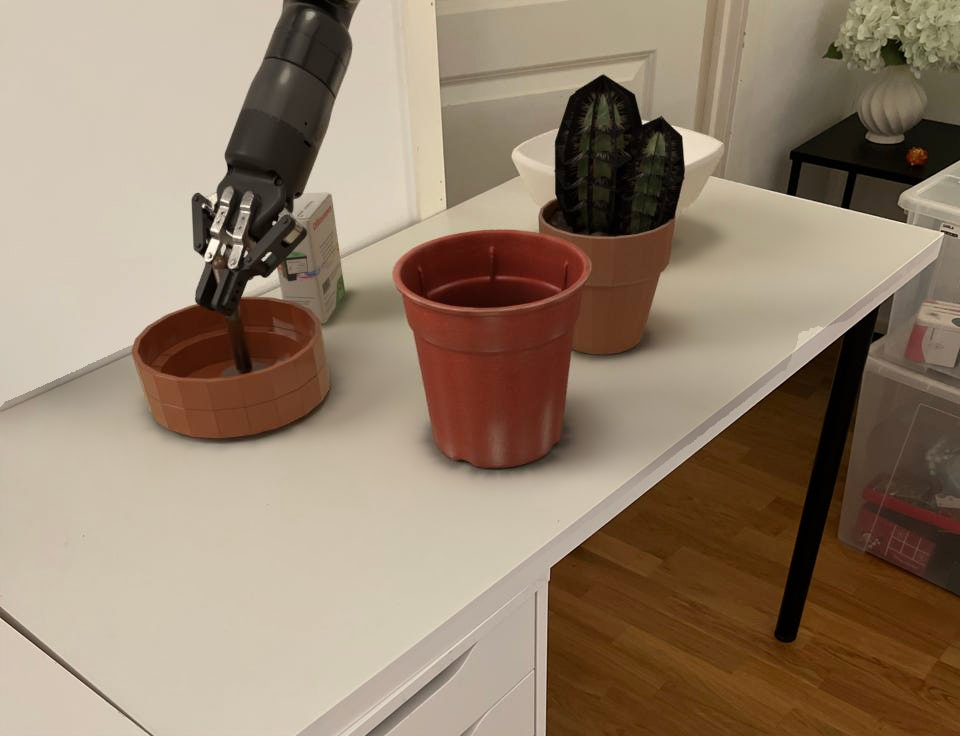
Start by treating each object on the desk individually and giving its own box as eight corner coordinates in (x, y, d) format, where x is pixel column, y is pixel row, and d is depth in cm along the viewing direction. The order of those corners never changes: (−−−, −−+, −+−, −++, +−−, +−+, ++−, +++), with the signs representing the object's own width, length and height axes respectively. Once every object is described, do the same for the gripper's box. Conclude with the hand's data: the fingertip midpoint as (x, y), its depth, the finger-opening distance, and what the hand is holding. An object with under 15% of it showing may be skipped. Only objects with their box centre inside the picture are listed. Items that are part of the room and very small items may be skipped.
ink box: (307, 292, 117) (290, 190, 109) (347, 293, 116) (332, 191, 108) (285, 323, 111) (265, 217, 103) (326, 325, 110) (309, 218, 102)
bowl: (606, 201, 136) (610, 109, 128) (736, 240, 123) (749, 141, 115) (490, 246, 125) (487, 150, 117) (620, 294, 113) (626, 190, 105)
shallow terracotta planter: (117, 400, 99) (97, 340, 95) (263, 338, 108) (252, 281, 104) (214, 465, 89) (197, 401, 85) (366, 392, 98) (358, 331, 94)
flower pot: (530, 504, 83) (529, 325, 72) (375, 455, 89) (352, 285, 78) (614, 416, 93) (624, 247, 82) (469, 378, 99) (460, 218, 88)
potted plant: (567, 376, 99) (573, 105, 82) (520, 322, 108) (516, 70, 91) (687, 351, 102) (717, 85, 85) (631, 301, 111) (647, 53, 94)
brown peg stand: (213, 391, 97) (179, 258, 88) (256, 372, 100) (227, 241, 91) (242, 409, 94) (210, 273, 85) (285, 389, 97) (259, 255, 88)
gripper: (200, 96, 88) (133, 277, 89) (311, 115, 82) (237, 309, 83) (254, 143, 95) (191, 310, 96) (360, 164, 89) (291, 342, 90)
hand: (212, 309), depth 90 cm, fingers closed on brown peg stand
